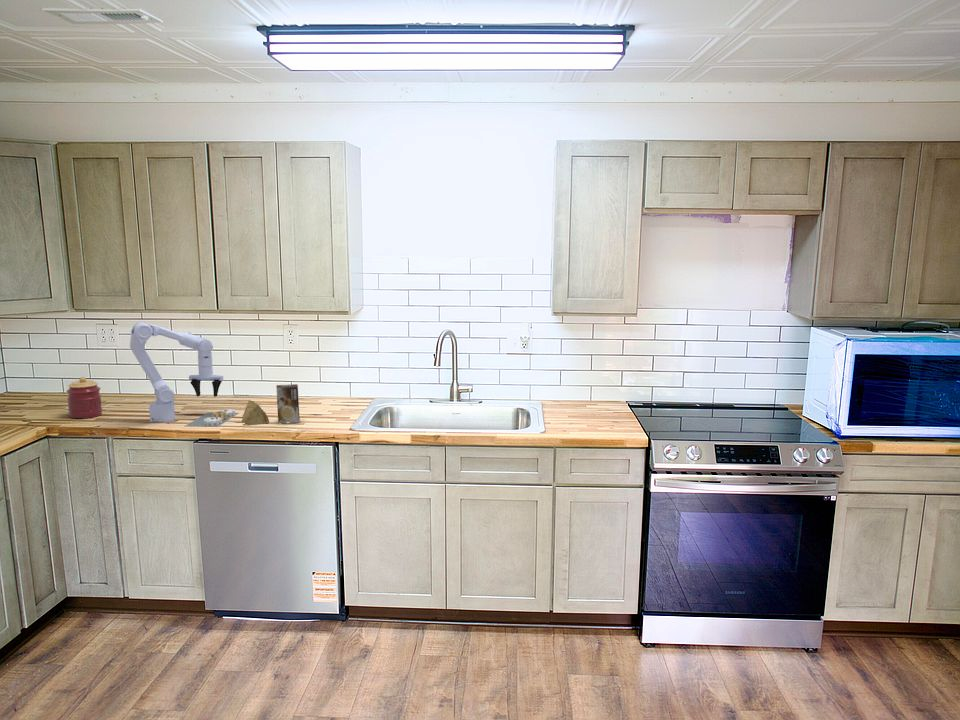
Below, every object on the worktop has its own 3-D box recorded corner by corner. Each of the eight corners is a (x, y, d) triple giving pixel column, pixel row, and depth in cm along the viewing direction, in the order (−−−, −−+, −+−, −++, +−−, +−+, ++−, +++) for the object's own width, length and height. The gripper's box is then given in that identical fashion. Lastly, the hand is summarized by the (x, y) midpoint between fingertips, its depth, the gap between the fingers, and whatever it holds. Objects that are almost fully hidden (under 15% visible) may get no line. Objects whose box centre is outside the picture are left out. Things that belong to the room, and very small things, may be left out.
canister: (92, 410, 302) (89, 372, 299) (108, 414, 296) (105, 376, 293) (62, 416, 291) (59, 377, 288) (78, 420, 285) (75, 380, 282)
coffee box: (299, 419, 292) (298, 383, 290) (299, 423, 286) (298, 386, 284) (277, 420, 290) (276, 384, 287) (277, 424, 284) (276, 387, 281)
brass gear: (210, 420, 284) (210, 414, 283) (216, 417, 289) (215, 411, 289) (223, 421, 284) (223, 414, 283) (228, 417, 289) (228, 411, 289)
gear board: (184, 428, 275) (183, 419, 274) (208, 414, 298) (208, 405, 298) (217, 429, 275) (217, 419, 274) (239, 414, 298) (239, 406, 298)
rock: (275, 415, 289) (255, 410, 291) (269, 403, 282) (249, 398, 285) (262, 435, 282) (242, 429, 284) (255, 423, 276) (235, 417, 278)
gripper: (225, 364, 295) (226, 394, 297) (193, 364, 295) (194, 393, 297) (218, 367, 288) (220, 397, 290) (185, 366, 288) (187, 397, 290)
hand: (207, 396), depth 293 cm, fingers open, 7 cm apart
